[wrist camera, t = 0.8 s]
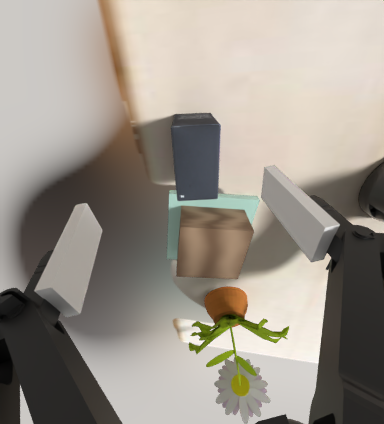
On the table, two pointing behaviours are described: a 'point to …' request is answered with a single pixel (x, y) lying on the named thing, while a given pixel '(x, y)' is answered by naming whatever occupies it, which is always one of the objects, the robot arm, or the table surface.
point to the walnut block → (212, 242)
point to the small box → (196, 156)
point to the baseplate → (222, 202)
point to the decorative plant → (239, 369)
